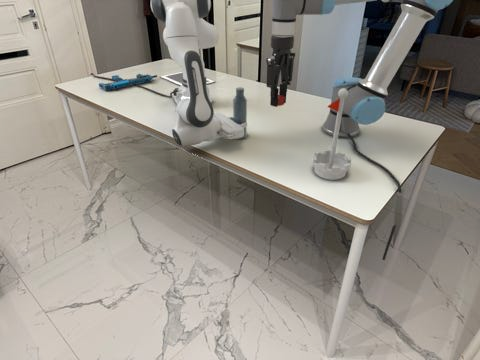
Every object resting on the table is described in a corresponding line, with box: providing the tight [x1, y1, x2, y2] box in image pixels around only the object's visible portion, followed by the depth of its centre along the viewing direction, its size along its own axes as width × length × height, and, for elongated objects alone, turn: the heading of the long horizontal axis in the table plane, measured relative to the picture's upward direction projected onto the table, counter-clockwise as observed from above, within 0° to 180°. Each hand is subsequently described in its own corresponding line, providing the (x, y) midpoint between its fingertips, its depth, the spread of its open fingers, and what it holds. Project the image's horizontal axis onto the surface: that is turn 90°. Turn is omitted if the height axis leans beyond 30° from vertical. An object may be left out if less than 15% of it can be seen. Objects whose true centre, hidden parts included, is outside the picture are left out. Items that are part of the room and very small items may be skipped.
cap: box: [277, 94, 285, 107], centre depth 122 cm, size 4×4×3 cm
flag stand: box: [312, 88, 352, 181], centre depth 113 cm, size 13×13×30 cm
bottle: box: [232, 86, 248, 140], centre depth 140 cm, size 6×6×21 cm
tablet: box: [160, 71, 216, 87], centre depth 213 cm, size 32×20×1 cm, turn 41°
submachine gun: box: [98, 73, 158, 91], centre depth 208 cm, size 34×4×25 cm
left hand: (241, 121), depth 142 cm, fingers closed on bottle, 5 cm apart
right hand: (278, 103), depth 123 cm, fingers closed on cap, 4 cm apart
